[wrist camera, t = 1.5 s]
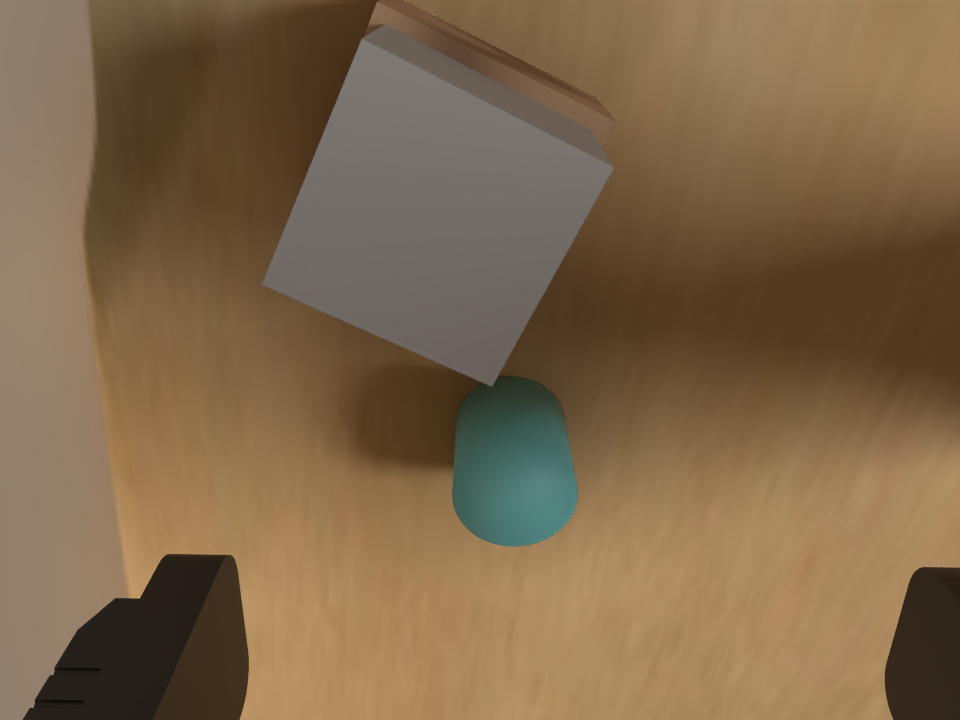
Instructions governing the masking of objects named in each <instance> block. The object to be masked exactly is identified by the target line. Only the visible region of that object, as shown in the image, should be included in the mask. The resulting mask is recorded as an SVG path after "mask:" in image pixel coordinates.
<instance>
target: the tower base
mask: <svg viewBox="0 0 960 720" xmlns="http://www.w3.org/2000/svg"><path fill="white" fill-rule="evenodd" d="M385 24H386V25H388V26H390V27H391V28H393V29H395V30H397V31H399V32H401V33H403V34H405V35H407V36H409V37H411V38H413V39H415V40H417V41H419V42H420V43H422V44H424V45H426V46H428V47H430V48H432V49H434V50H436V51H438V52H440V53H442V54H444V55H446V56H448V57H450V58H451V59H453V60H455V61H457V62H459V63H461V64H463V65H465V66H467V67H469V68H471V69H473V70H475V71H477V72H479V73H481V74H482V75H484V76H486V77H488V78H490V79H492V80H494V81H496V82H498V83H500V84H502V85H504V86H506V87H508V88H510V89H511V90H513V91H515V92H517V93H519V94H521V95H523V96H525V97H527V98H529V99H531V100H533V101H535V102H537V103H539V104H541V105H542V106H544V107H546V108H548V109H550V110H552V111H554V112H556V113H558V114H560V115H562V116H564V117H566V118H568V119H570V120H572V121H573V122H575V123H577V124H579V125H581V126H583V127H585V128H587V129H589V130H590V131H591V132H592V134H593V135H594V137H595V138H596V140H597V141H598V143H599V144H600V146H601V148H602V149H603V147H604V145H605V143H606V141H607V139H608V137H609V135H610V133H611V132H612V130H613V128H614V126H615V124H616V122H617V121H616V120H615V119H614V118H613V117H612V116H611V115H610V113H609V112H608V111H607V110H606V109H605V108H604V106H603V105H602V104H601V103H600V102H599V101H598V99H597V98H595V97H594V96H592V95H590V94H588V93H586V92H584V91H582V90H580V89H578V88H576V87H574V86H572V85H570V84H568V83H566V82H564V81H562V80H560V79H558V78H556V77H554V76H552V75H550V74H548V73H546V72H544V71H542V70H540V69H538V68H536V67H534V66H532V65H530V64H528V63H526V62H524V61H522V60H520V59H518V58H516V57H514V56H512V55H510V54H508V53H506V52H504V51H502V50H500V49H498V48H496V47H494V46H492V45H490V44H488V43H486V42H484V41H483V40H481V39H479V38H477V37H475V36H473V35H471V34H469V33H467V32H465V31H463V30H461V29H459V28H457V27H455V26H453V25H451V24H449V23H447V22H445V21H443V20H441V19H439V18H437V17H435V16H433V15H431V14H429V13H427V12H425V11H423V10H421V9H419V8H417V7H415V6H413V5H411V4H409V3H407V2H405V1H403V0H380V1H377V3H376V5H375V8H374V11H373V13H372V16H371V18H370V21H369V23H368V26H367V29H366V31H365V34H364V36H363V38H364V37H365V36H367V35H368V34H370V33H372V32H373V31H375V30H376V29H378V28H380V27H381V26H383V25H385Z"/></svg>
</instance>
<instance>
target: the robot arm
mask: <svg viewBox="0 0 960 720" xmlns="http://www.w3.org/2000/svg"><path fill="white" fill-rule="evenodd" d="M248 672H249V656H248V647H247V639H246V632H245V624H244V616H243V608H242V601H241V593H240V585H239V578H238V570H237V565H236V562H235V559H234V558H233V556H231V555H193V554H167V555H166V556H164V557H163V558H162V560H161V561H160V563H159V564H158V566H157V568H156V570H155V572H154V574H153V575H152V577H151V579H150V581H149V583H148V585H147V586H146V588H145V590H144V592H143V594H142V596H141V597H140V599H132V598H115V599H114V600H113V601H112V602H110V603H109V604H108V605H107V606H106V607H104V608H103V609H102V610H101V611H100V612H99V613H97V614H96V615H95V616H94V617H93V618H91V619H90V620H89V621H88V622H87V623H85V624H84V625H83V626H82V627H81V628H80V629H78V630H77V632H76V634H75V635H74V637H73V638H72V640H71V642H70V643H69V645H68V647H67V649H66V650H65V651H64V653H63V655H62V656H61V658H60V660H59V661H58V663H57V665H56V666H55V672H54V675H50V676H49V678H48V679H47V681H46V683H45V684H44V686H43V687H42V689H41V691H40V692H39V694H38V696H37V697H36V699H35V705H34V708H30V709H29V710H28V712H27V713H26V715H25V717H24V718H23V720H239V719H240V716H241V713H242V710H243V706H244V702H245V697H246V691H247V684H248ZM885 690H886V697H887V701H888V705H889V709H890V712H891V715H892V717H893V720H960V568H943V567H922V568H919V569H918V570H916V571H915V572H914V574H913V575H912V577H911V579H910V582H909V585H908V589H907V592H906V596H905V599H904V603H903V606H902V610H901V614H900V617H899V621H898V624H897V628H896V631H895V635H894V639H893V642H892V646H891V649H890V653H889V656H888V660H887V664H886V669H885Z"/></svg>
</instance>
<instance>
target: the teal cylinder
mask: <svg viewBox="0 0 960 720" xmlns="http://www.w3.org/2000/svg"><path fill="white" fill-rule="evenodd" d="M452 497H453V504H454V508H455V511H456V513H457V516H458V517H459V519H460V520H461V522H462V523H463V524H464V526H465V527H466V528H467V529H468V530H469V531H471V532H472V533H473V534H475V535H476V536H477V537H479V538H481V539H483V540H485V541H488V542H490V543H494V544H497V545H503V546H525V545H531V544H534V543H538V542H540V541H543V540H545V539H547V538H549V537H551V536H552V535H554V534H555V533H557V532H558V531H559V530H560V529H561V528H562V527H564V525H565V524H566V523H567V522H568V521H569V519H570V517H571V516H572V514H573V512H574V510H575V507H576V503H577V497H578V488H577V483H576V477H575V472H574V467H573V461H572V456H571V451H570V445H569V440H568V435H567V429H566V424H565V419H564V413H563V410H562V407H561V405H560V403H559V401H558V400H557V399H556V397H555V396H554V395H553V394H552V393H551V392H550V391H549V390H548V389H547V388H545V387H544V386H542V385H541V384H539V383H537V382H535V381H533V380H529V379H526V378H521V377H501V378H497V379H496V381H495V382H494V384H493V386H492V387H491V386H489V385H487V384H484V383H483V384H481V385H480V386H478V387H476V388H475V389H474V390H473V391H471V392H470V393H469V394H468V395H467V397H466V398H465V399H464V401H463V402H462V404H461V406H460V408H459V411H458V413H457V418H456V433H455V453H454V473H453V493H452Z"/></svg>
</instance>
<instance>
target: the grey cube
mask: <svg viewBox="0 0 960 720" xmlns="http://www.w3.org/2000/svg"><path fill="white" fill-rule="evenodd" d="M613 169H614V166H613V165H612V163H611V162H610V160H609V158H608V157H607V155H606V154H605V152H604V151H603V149H602V148H601V146H600V144H599V143H598V141H597V140H596V138H595V137H594V135H593V134H592V132H591V131H590V130H589V129H587V128H585V127H583V126H581V125H579V124H577V123H575V122H573V121H572V120H570V119H568V118H566V117H564V116H562V115H560V114H558V113H556V112H554V111H552V110H550V109H548V108H546V107H544V106H542V105H541V104H539V103H537V102H535V101H533V100H531V99H529V98H527V97H525V96H523V95H521V94H519V93H517V92H515V91H513V90H511V89H510V88H508V87H506V86H504V85H502V84H500V83H498V82H496V81H494V80H492V79H490V78H488V77H486V76H484V75H482V74H481V73H479V72H477V71H475V70H473V69H471V68H469V67H467V66H465V65H463V64H461V63H459V62H457V61H455V60H453V59H451V58H450V57H448V56H446V55H444V54H442V53H440V52H438V51H436V50H434V49H432V48H430V47H428V46H426V45H424V44H422V43H420V42H419V41H417V40H415V39H413V38H411V37H409V36H407V35H405V34H403V33H401V32H399V31H397V30H395V29H393V28H391V27H390V26H388V25H386V24H385V25H383V26H381V27H380V28H378V29H376V30H375V31H373V32H372V33H370V34H368V35H367V36H365V37H364V38H362V40H361V42H360V44H359V47H358V49H357V52H356V54H355V57H354V59H353V62H352V64H351V67H350V69H349V71H348V74H347V76H346V79H345V81H344V84H343V86H342V89H341V91H340V94H339V96H338V98H337V101H336V103H335V106H334V108H333V111H332V113H331V116H330V118H329V121H328V123H327V125H326V128H325V130H324V133H323V135H322V138H321V140H320V143H319V145H318V148H317V150H316V152H315V155H314V157H313V160H312V162H311V165H310V167H309V170H308V172H307V175H306V177H305V179H304V182H303V184H302V187H301V189H300V192H299V194H298V197H297V199H296V202H295V204H294V206H293V209H292V211H291V214H290V216H289V219H288V221H287V224H286V226H285V229H284V231H283V233H282V236H281V238H280V241H279V243H278V246H277V248H276V251H275V253H274V256H273V258H272V260H271V263H270V265H269V268H268V270H267V273H266V275H265V278H264V280H263V283H262V285H263V286H265V287H268V288H270V289H272V290H274V291H277V292H279V293H281V294H283V295H286V296H288V297H290V298H292V299H295V300H297V301H299V302H301V303H304V304H306V305H308V306H311V307H313V308H315V309H317V310H320V311H322V312H324V313H326V314H329V315H331V316H333V317H335V318H338V319H340V320H342V321H344V322H347V323H349V324H351V325H353V326H356V327H358V328H360V329H362V330H365V331H367V332H369V333H372V334H374V335H376V336H378V337H381V338H383V339H385V340H387V341H390V342H392V343H394V344H396V345H399V346H401V347H403V348H405V349H408V350H410V351H412V352H414V353H417V354H419V355H421V356H423V357H426V358H428V359H430V360H433V361H435V362H437V363H439V364H442V365H444V366H446V367H448V368H451V369H453V370H455V371H457V372H460V373H462V374H464V375H466V376H469V377H471V378H473V379H475V380H478V381H480V382H482V383H484V384H487V385H489V386H491V387H492V386H493V384H494V382H495V381H496V379H497V377H498V375H499V373H500V372H501V370H502V368H503V366H504V364H505V363H506V361H507V359H508V357H509V355H510V354H511V352H512V350H513V348H514V347H515V345H516V343H517V341H518V339H519V338H520V336H521V334H522V332H523V330H524V329H525V327H526V325H527V323H528V321H529V320H530V318H531V316H532V314H533V312H534V311H535V309H536V307H537V305H538V303H539V302H540V300H541V298H542V296H543V295H544V293H545V291H546V289H547V287H548V286H549V284H550V282H551V280H552V278H553V277H554V275H555V273H556V271H557V269H558V268H559V266H560V264H561V262H562V260H563V259H564V257H565V255H566V253H567V252H568V250H569V248H570V246H571V244H572V243H573V241H574V239H575V237H576V235H577V234H578V232H579V230H580V228H581V226H582V225H583V223H584V221H585V219H586V217H587V216H588V214H589V212H590V210H591V208H592V207H593V205H594V203H595V201H596V200H597V198H598V196H599V194H600V192H601V191H602V189H603V187H604V185H605V183H606V182H607V180H608V178H609V176H610V174H611V173H612V171H613Z"/></svg>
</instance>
